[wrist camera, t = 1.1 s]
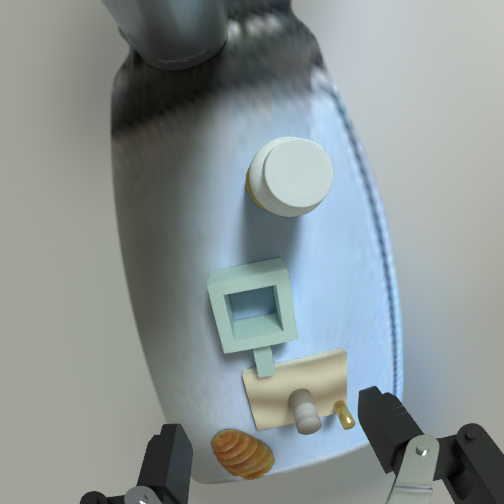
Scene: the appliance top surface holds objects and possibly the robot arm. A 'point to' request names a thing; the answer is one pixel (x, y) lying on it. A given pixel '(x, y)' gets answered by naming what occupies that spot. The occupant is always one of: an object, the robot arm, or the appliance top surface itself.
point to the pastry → (242, 454)
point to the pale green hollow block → (260, 327)
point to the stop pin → (344, 415)
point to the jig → (298, 391)
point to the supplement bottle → (289, 176)
